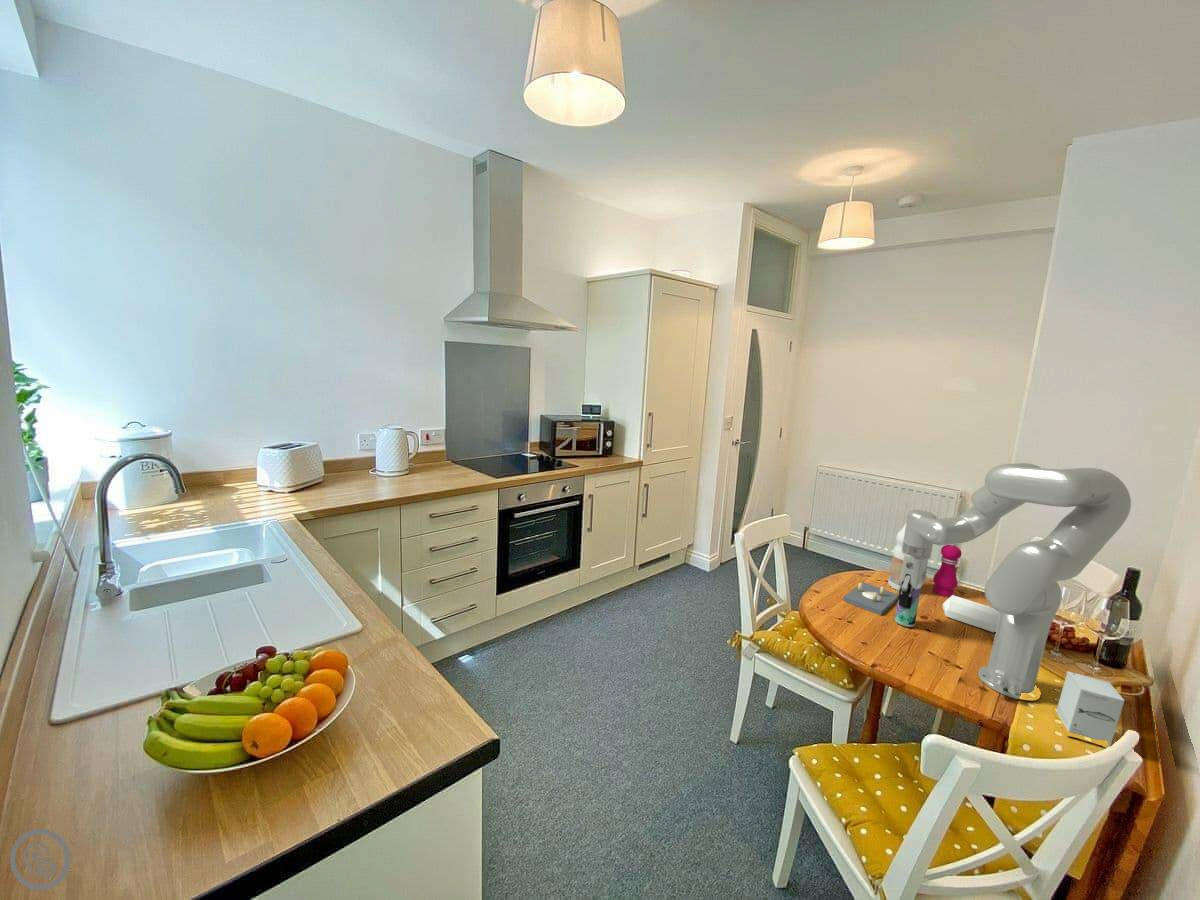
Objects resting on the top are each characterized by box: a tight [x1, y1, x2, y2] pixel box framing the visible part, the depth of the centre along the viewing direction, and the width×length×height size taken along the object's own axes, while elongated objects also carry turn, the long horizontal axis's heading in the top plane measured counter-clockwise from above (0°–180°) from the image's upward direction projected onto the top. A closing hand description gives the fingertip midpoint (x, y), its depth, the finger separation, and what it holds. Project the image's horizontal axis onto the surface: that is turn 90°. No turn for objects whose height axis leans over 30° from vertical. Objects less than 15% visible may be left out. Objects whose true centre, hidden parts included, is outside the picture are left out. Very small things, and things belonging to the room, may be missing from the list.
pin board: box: [842, 581, 899, 616], centre depth 165 cm, size 18×12×4 cm, turn 132°
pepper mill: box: [932, 543, 962, 598], centre depth 172 cm, size 7×7×20 cm
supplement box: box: [1055, 670, 1125, 749], centre depth 107 cm, size 7×7×13 cm
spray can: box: [894, 565, 922, 628], centre depth 149 cm, size 6×6×20 cm
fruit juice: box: [887, 514, 908, 592], centre depth 173 cm, size 9×9×28 cm
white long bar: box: [941, 595, 1001, 633], centre depth 151 cm, size 7×7×24 cm
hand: (907, 603), depth 150 cm, fingers closed on spray can, 5 cm apart
